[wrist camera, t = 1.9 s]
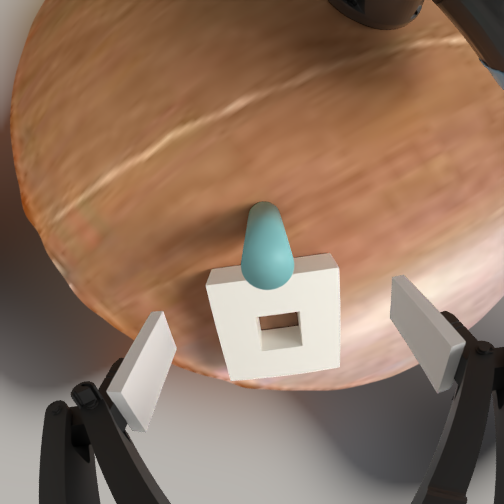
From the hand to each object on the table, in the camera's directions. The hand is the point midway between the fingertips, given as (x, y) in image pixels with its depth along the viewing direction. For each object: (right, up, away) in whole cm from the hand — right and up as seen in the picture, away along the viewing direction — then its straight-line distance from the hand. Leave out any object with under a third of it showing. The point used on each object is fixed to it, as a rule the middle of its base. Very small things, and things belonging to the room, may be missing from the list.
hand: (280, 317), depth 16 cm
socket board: (+2, -5, +26) cm, 27 cm away
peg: (0, +8, +21) cm, 23 cm away
